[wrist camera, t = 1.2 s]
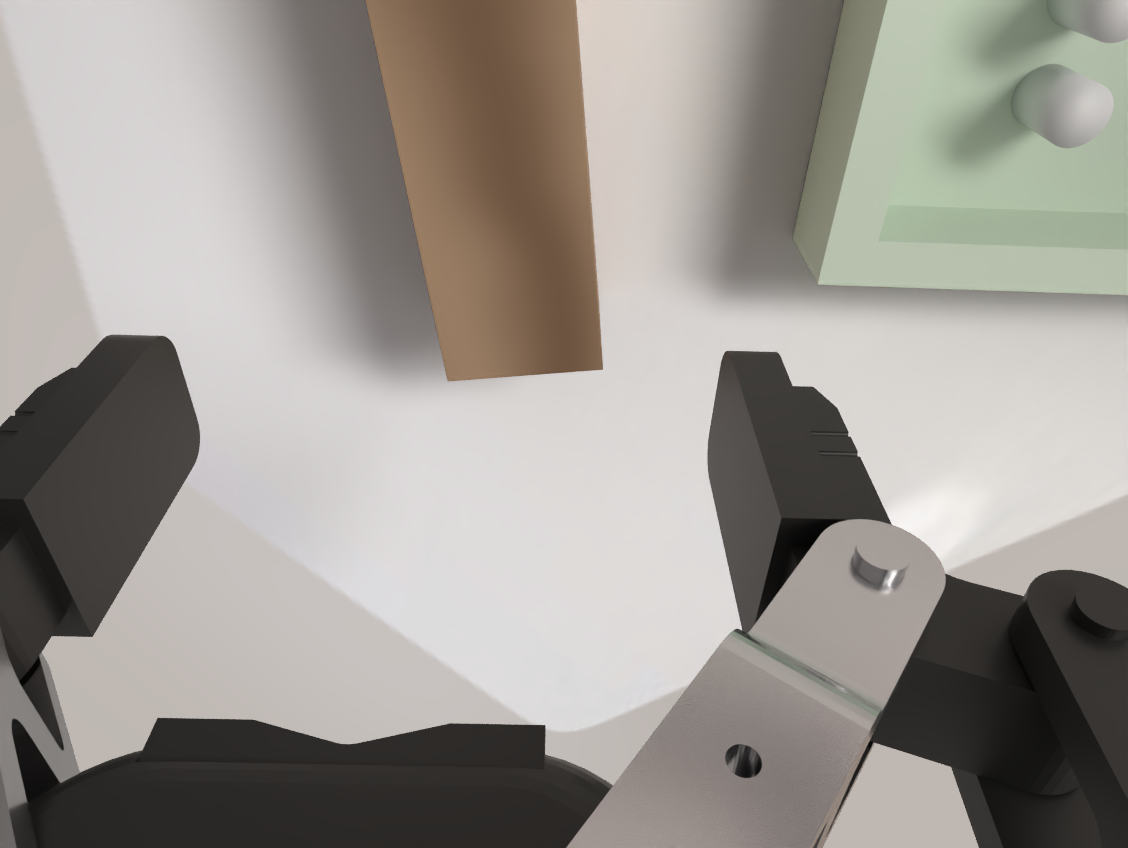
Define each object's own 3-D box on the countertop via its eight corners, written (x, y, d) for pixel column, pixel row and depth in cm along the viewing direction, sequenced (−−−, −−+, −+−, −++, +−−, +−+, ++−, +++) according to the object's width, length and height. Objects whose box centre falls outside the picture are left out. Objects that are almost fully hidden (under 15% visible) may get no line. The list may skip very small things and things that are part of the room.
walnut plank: (464, 307, 30) (447, 381, 26) (367, -204, 21) (319, -211, 17) (598, 296, 29) (602, 369, 25) (558, -227, 21) (556, -240, 17)
